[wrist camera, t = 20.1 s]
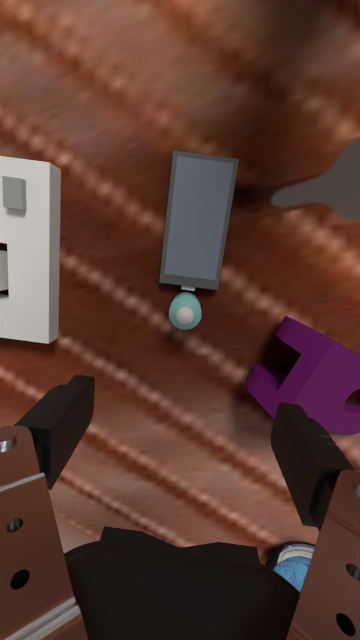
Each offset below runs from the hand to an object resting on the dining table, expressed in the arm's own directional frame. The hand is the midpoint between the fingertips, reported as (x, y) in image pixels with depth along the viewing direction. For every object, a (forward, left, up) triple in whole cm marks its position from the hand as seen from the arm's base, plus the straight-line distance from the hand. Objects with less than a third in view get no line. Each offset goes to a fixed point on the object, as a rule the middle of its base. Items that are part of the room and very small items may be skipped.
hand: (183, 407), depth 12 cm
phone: (-10, 0, -23) cm, 25 cm away
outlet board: (-4, -24, -23) cm, 33 cm away
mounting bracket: (+7, +18, -23) cm, 30 cm away
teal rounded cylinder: (0, 0, -23) cm, 23 cm away
